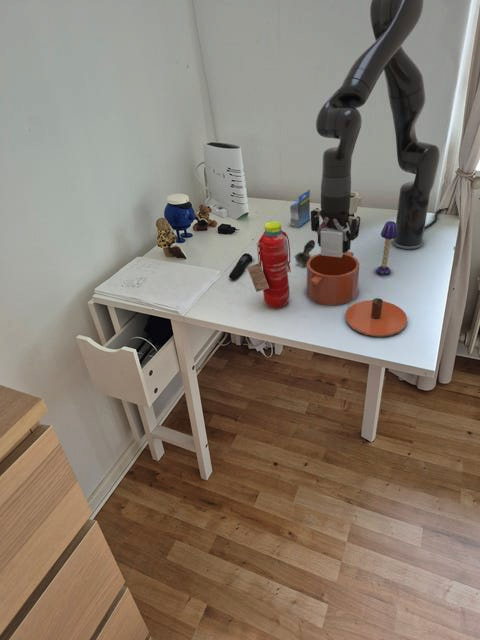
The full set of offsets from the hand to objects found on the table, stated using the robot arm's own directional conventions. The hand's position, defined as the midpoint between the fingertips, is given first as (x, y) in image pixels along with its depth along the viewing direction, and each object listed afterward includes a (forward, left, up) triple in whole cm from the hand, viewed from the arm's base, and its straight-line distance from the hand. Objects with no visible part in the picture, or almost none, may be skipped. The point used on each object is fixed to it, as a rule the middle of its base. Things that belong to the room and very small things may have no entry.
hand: (333, 248), depth 123 cm
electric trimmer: (+4, -32, -14) cm, 35 cm away
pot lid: (+6, +17, -14) cm, 23 cm away
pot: (0, 0, -14) cm, 14 cm away
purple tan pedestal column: (-18, +8, -14) cm, 24 cm away
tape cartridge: (-37, -36, -14) cm, 54 cm away
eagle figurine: (-12, -17, -14) cm, 25 cm away
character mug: (-41, -18, -14) cm, 47 cm away
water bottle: (+15, -11, -14) cm, 24 cm away
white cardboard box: (0, 0, -1) cm, 1 cm away
